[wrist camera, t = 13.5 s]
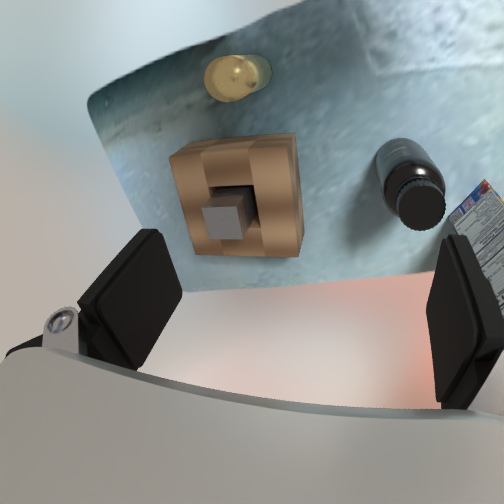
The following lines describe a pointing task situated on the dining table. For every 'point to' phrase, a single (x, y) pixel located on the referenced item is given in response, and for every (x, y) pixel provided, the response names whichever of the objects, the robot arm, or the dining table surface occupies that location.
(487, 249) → the juice carton
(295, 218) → the socket block
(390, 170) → the supplement bottle
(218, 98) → the round bit
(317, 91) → the dining table surface
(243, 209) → the square bit
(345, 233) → the dining table surface
